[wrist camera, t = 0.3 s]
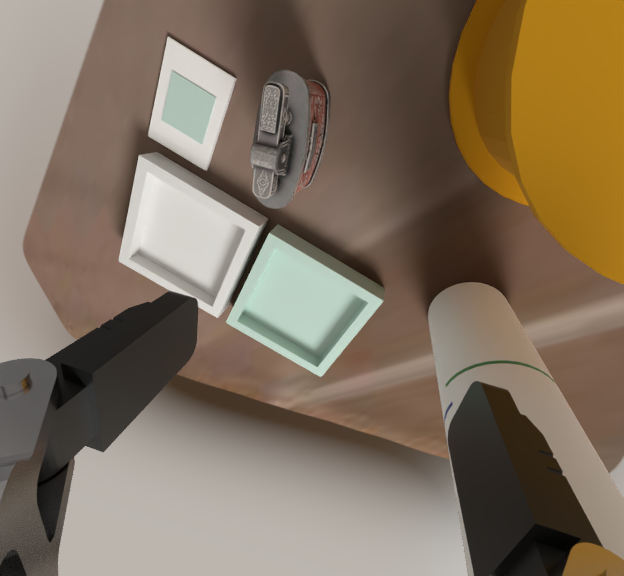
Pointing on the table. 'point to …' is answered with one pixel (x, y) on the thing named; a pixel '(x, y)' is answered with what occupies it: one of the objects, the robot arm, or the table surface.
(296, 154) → the lighter
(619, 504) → the cylindrical container
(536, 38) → the spool
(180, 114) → the card
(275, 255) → the green tray
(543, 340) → the table surface
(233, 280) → the white tray
